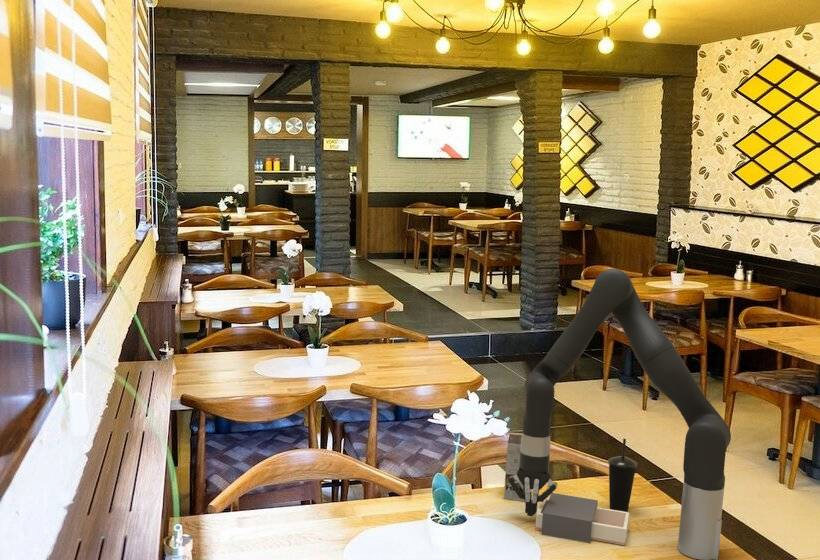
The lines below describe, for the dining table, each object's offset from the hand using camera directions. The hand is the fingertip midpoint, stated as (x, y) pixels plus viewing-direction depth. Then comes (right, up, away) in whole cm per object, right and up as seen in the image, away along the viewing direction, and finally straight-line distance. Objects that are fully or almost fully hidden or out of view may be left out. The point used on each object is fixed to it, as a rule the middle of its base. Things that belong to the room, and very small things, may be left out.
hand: (530, 514), depth 211 cm
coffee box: (-1, +1, +17) cm, 18 cm away
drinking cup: (+25, -2, +10) cm, 27 cm away
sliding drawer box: (+13, -3, -4) cm, 13 cm away
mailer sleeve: (+10, -2, -3) cm, 10 cm away
